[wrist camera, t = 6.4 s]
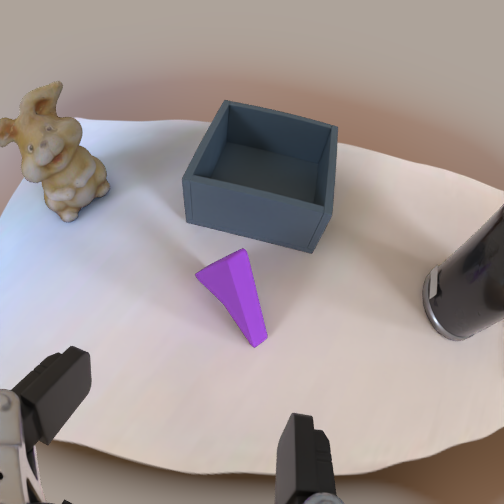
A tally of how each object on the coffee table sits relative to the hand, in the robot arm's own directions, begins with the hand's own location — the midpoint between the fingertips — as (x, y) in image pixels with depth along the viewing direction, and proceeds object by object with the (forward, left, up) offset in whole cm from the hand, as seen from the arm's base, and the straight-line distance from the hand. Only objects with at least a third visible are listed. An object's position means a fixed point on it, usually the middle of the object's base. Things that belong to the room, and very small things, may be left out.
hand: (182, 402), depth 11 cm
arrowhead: (0, -10, -16) cm, 19 cm away
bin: (0, -24, -16) cm, 29 cm away
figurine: (+21, -17, -16) cm, 31 cm away
